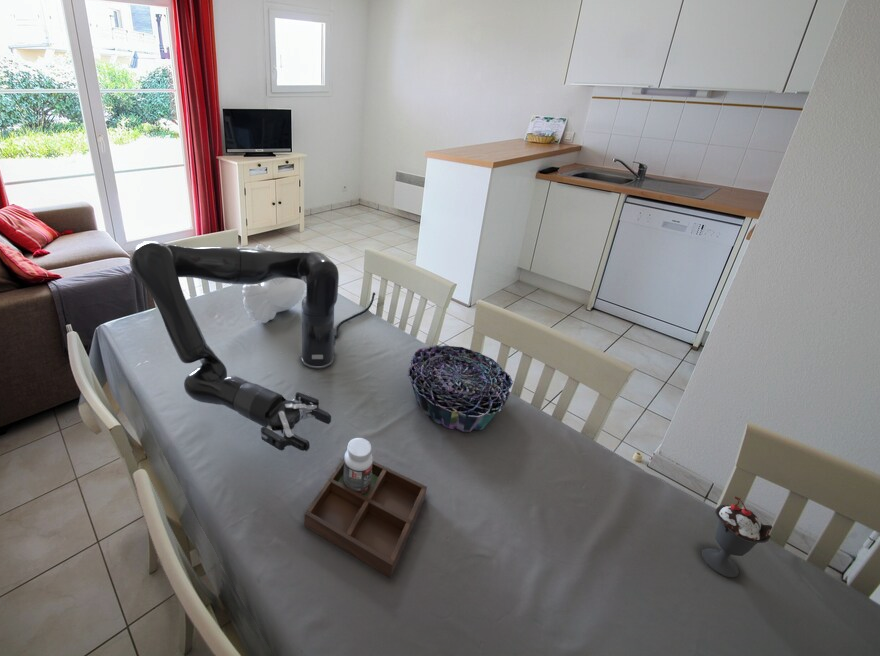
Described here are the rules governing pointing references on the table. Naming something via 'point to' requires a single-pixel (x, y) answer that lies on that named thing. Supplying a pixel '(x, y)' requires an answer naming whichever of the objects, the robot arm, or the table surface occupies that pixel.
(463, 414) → the decorative bowl
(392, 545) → the grid
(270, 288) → the decorative rooster
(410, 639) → the table surface
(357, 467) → the pill bottle
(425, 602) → the table surface
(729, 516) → the sundae
